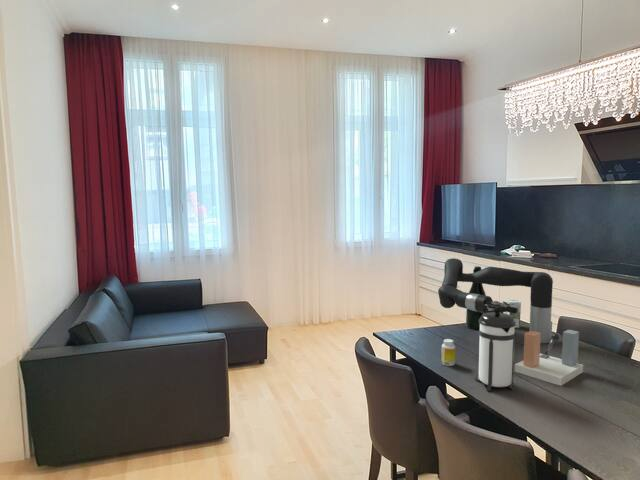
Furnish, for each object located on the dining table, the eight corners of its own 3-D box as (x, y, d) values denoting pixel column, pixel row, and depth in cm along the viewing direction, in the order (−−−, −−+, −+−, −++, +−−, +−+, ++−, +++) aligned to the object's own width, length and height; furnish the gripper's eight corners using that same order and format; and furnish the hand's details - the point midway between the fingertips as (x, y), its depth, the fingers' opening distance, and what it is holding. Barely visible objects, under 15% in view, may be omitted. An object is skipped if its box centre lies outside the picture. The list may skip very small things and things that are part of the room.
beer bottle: (462, 327, 243) (463, 266, 239) (472, 323, 250) (473, 264, 247) (480, 331, 235) (482, 268, 232) (490, 327, 242) (491, 266, 239)
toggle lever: (541, 352, 189) (552, 333, 185) (544, 350, 191) (555, 331, 187) (547, 356, 188) (558, 337, 183) (550, 354, 189) (561, 335, 185)
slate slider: (561, 363, 182) (563, 332, 181) (567, 360, 185) (568, 329, 184) (572, 366, 179) (573, 334, 178) (577, 363, 182) (579, 331, 181)
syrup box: (516, 325, 245) (517, 299, 244) (520, 328, 239) (521, 301, 238) (505, 325, 246) (506, 299, 244) (509, 328, 240) (509, 301, 238)
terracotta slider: (523, 364, 181) (524, 333, 180) (529, 361, 184) (530, 330, 183) (533, 367, 178) (534, 335, 177) (539, 364, 181) (540, 332, 180)
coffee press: (523, 383, 171) (526, 306, 168) (507, 397, 160) (510, 314, 156) (479, 371, 183) (481, 299, 180) (461, 383, 171) (463, 306, 168)
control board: (514, 371, 183) (514, 362, 182) (537, 359, 195) (538, 351, 195) (560, 385, 169) (561, 376, 168) (582, 372, 181) (583, 363, 181)
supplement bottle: (457, 365, 190) (458, 341, 189) (447, 367, 188) (448, 343, 187) (448, 360, 195) (449, 337, 194) (438, 362, 193) (438, 339, 192)
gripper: (486, 308, 202) (524, 316, 189) (469, 314, 194) (508, 322, 180) (487, 292, 201) (525, 299, 188) (470, 296, 193) (508, 304, 180)
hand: (516, 310), depth 184 cm, fingers closed
